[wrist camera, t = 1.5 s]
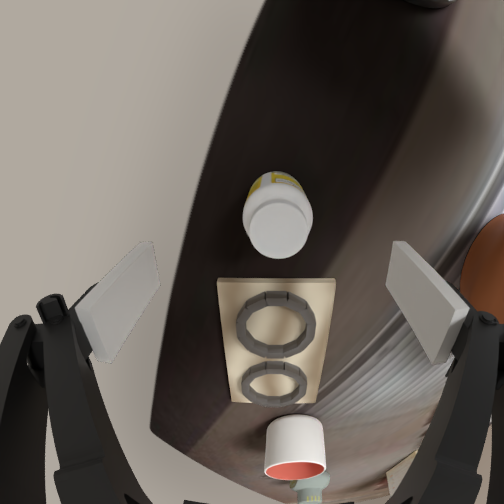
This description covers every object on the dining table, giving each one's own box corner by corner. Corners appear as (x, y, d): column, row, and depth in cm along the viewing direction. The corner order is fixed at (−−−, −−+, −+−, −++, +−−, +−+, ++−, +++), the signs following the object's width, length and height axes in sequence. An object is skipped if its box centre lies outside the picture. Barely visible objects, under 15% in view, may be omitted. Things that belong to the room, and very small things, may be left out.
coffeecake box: (402, 469, 56) (411, 519, 39) (384, 472, 56) (392, 524, 38) (432, 447, 50) (447, 501, 32) (414, 450, 50) (428, 508, 32)
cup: (322, 433, 45) (325, 477, 36) (271, 438, 46) (268, 481, 37) (321, 407, 41) (326, 458, 32) (262, 413, 42) (259, 463, 33)
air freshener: (300, 464, 52) (300, 499, 43) (332, 464, 52) (334, 497, 43) (287, 477, 56) (286, 508, 47) (316, 477, 56) (317, 507, 47)
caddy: (334, 278, 31) (338, 289, 28) (314, 397, 40) (315, 410, 37) (218, 277, 32) (214, 289, 29) (232, 396, 41) (230, 409, 38)
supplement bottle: (258, 229, 29) (251, 276, 20) (241, 180, 27) (225, 205, 18) (310, 215, 28) (326, 256, 19) (295, 164, 26) (306, 181, 17)
